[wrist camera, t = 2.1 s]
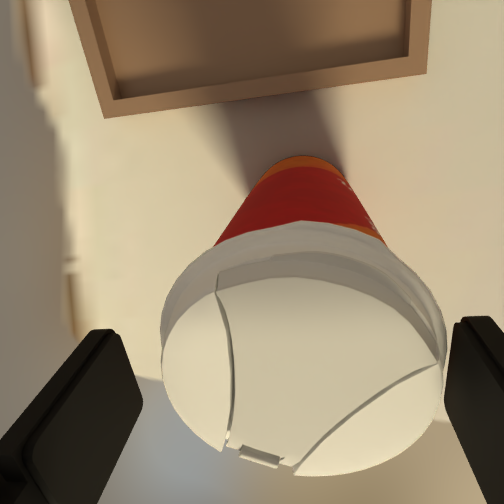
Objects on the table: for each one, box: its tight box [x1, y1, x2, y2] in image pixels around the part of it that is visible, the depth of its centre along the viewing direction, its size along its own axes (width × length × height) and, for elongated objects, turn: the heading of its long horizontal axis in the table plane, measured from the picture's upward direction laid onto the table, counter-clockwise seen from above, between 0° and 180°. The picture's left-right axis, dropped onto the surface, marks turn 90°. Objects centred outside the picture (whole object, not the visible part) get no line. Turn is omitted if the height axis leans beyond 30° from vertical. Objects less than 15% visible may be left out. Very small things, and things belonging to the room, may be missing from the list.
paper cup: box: [160, 156, 447, 476], centre depth 15 cm, size 8×8×14 cm
